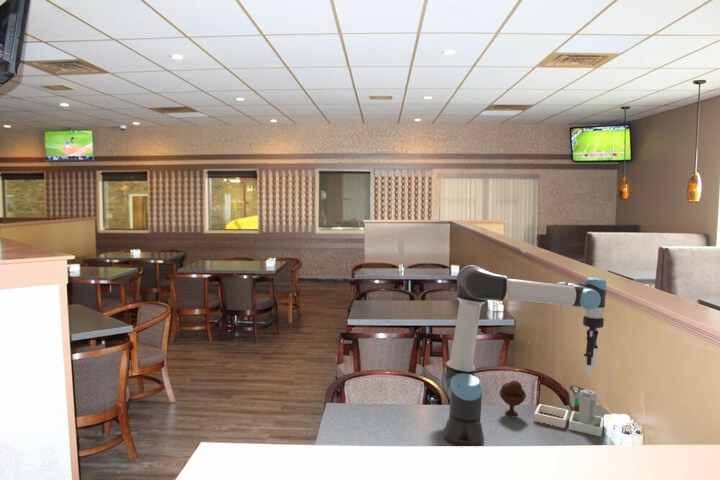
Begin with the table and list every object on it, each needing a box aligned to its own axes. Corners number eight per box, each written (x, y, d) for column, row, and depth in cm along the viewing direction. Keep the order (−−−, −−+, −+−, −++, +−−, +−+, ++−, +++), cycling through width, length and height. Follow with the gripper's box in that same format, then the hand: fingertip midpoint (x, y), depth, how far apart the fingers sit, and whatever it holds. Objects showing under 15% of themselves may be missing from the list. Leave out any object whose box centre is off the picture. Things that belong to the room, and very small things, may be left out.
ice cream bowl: (527, 413, 221) (529, 379, 220) (520, 421, 212) (522, 386, 211) (503, 407, 227) (504, 374, 226) (495, 415, 217) (497, 380, 216)
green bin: (568, 429, 206) (569, 420, 206) (571, 418, 217) (572, 410, 217) (601, 436, 201) (602, 428, 200) (603, 425, 211) (603, 417, 211)
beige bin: (533, 421, 213) (534, 413, 212) (538, 411, 223) (539, 403, 223) (564, 428, 207) (565, 420, 207) (568, 418, 218) (568, 410, 217)
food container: (589, 418, 218) (591, 395, 217) (574, 416, 219) (575, 394, 218) (582, 407, 230) (584, 385, 229) (568, 405, 231) (569, 384, 230)
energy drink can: (582, 423, 213) (585, 387, 212) (596, 428, 208) (599, 392, 207) (575, 426, 209) (577, 390, 208) (589, 432, 204) (591, 395, 203)
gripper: (601, 323, 193) (597, 378, 194) (605, 312, 215) (602, 362, 216) (580, 320, 196) (576, 374, 198) (586, 310, 218) (582, 358, 220)
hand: (589, 368), depth 207 cm, fingers open, 13 cm apart
